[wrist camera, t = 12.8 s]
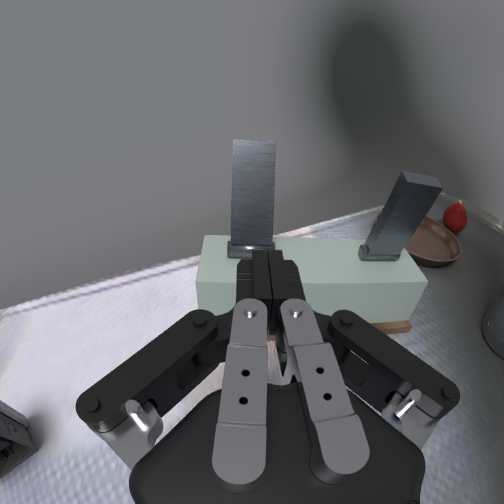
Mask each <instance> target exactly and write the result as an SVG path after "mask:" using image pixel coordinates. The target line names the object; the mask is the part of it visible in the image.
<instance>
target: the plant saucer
mask: <svg viewBox="0 0 504 504" xmlns="http://www.w3.org/2000/svg"><path fill="white" fill-rule="evenodd" d="M380 214H381V212H380V213H379V214H378V215H377V216H376V221H377V219H378V217H379V216H380ZM404 248H405V249H406V251H407V252H408V253H409V255H410V256H411V258H412V259H413V260H414V262H415V263H416V264H418V265H422V266H427V267H439V266H443V265H446V264H449V263H451V262H453V261H454V260H456V259H457V258H458V257H459V256H460V254H461V246H460V243H459V241H458V239H457V238H456V237H455V236H454V234H453V233H452V232H451V231H449V230H448V229H447V228H446V227H445V226H443V225H442V224H440V223H439V222H437V221H435V220H433V219H431V218H429V217H427V216H425V218H424V219H423V221H422V222H421V224H420V225H419V227H418V228H417V230H416V231H415V233H414V234H413V236H412V237H411V239H410V240H409V241H408V243H407V244H406V246H405V247H404Z"/></svg>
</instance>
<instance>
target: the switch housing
mask: <svg viewBox="0 0 504 504" xmlns="http://www.w3.org/2000/svg"><path fill="white" fill-rule="evenodd" d="M228 241H231V236H219V235H218V236H217V235H205V238H204V243H203V247H202V253H201V257H200V262H199V267H198V272H197V277H196V289H197V299H198V308H199V309H204V310H208V311H210V312H212V313H213V314H214V315H215V316H217V315H221V314H224V313H227V312H229V311H230V310H231V309H232V308H233V307H234V306H235V303H236V275H237V264H238V263H239V261H240V260H241V259H251V258H246V257H227V242H228ZM272 242H275V250H282V253H283V258H284V260H293V261H294V263H295V264H296V265H297V266H298V270H299V275H300V278H301V282H302V286H303V290H304V294H305V299H306V302H307V303H309V304H310V306H311V307H312V309H313V310H314V311H316V312H318V313H321V314H325V315H329V316H332V314H333V313H334V312H336V311H338V310H349V311H352V312H354V313H356V314H357V315H359V316H360V317H361V318H363V319H364V320H366V321H367V322H369V323H383V322H395V321H405V320H409V319H410V317H411V315H412V313H413V311H414V309H415V307H416V305H417V303H418V301H419V300H420V298H421V296H422V293H423V291H424V289H425V287H426V285H427V283H428V280H427V279H426V277H425V276H424V275H423V273H422V272H421V270H420V269H419V267H418V266H417V265H416V263H415V262H414V260H413V259H412V258H411V256H410V255H409V253H408V252H407V251H406V249H405V248H404V249H403V250H402V251H401V255H400V258H399V260H361V259H360V258H359V247H360V245H365V244H364V243H365V242H366V240H354V239H327V238H297V237H273V240H272Z"/></svg>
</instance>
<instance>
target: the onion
mask: <svg viewBox="0 0 504 504" xmlns="http://www.w3.org/2000/svg"><path fill="white" fill-rule="evenodd" d="M443 223H444V225H445V227H446V228H447V229H448V230H449V231H451V232H452V233H459V232H461V231H462V230H463V229H464V228H465V226H466V224H467V215H466V211H465V209H464V207H463V205H462V201H461V200H459V201H458V203H456V204H453V205H450V206H449V207H448V208H447V209H446V210H445V212H444V215H443Z"/></svg>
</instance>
